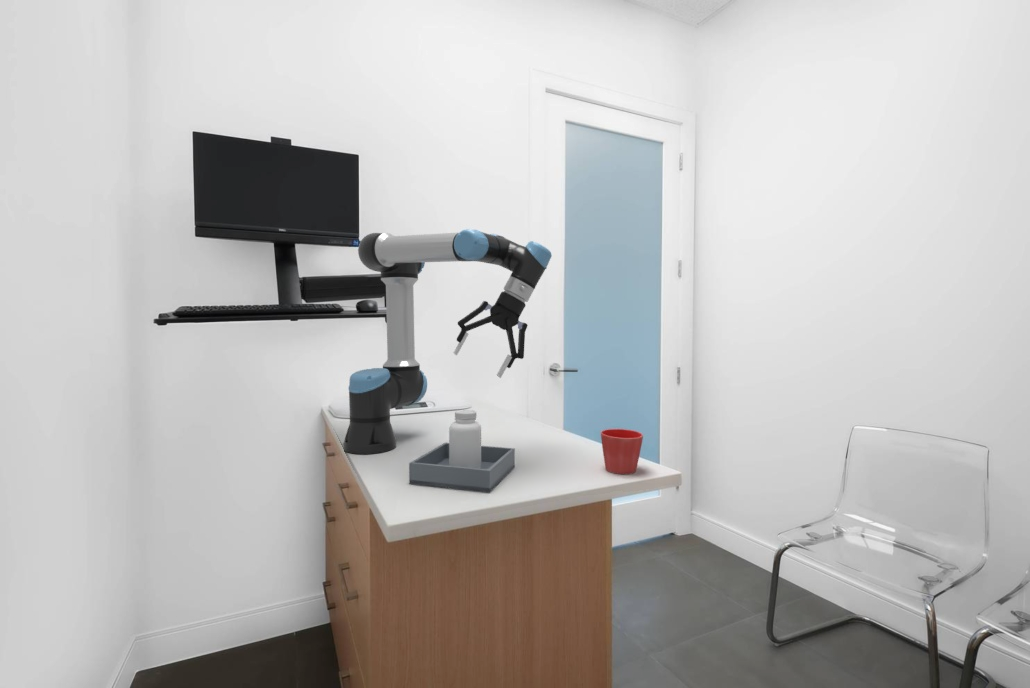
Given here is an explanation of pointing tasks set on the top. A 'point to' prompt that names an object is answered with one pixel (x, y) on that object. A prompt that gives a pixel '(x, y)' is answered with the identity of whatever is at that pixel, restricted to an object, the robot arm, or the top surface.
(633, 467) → the flower pot
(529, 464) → the top surface
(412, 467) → the tray
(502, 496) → the top surface
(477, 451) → the pill bottle
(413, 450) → the top surface
